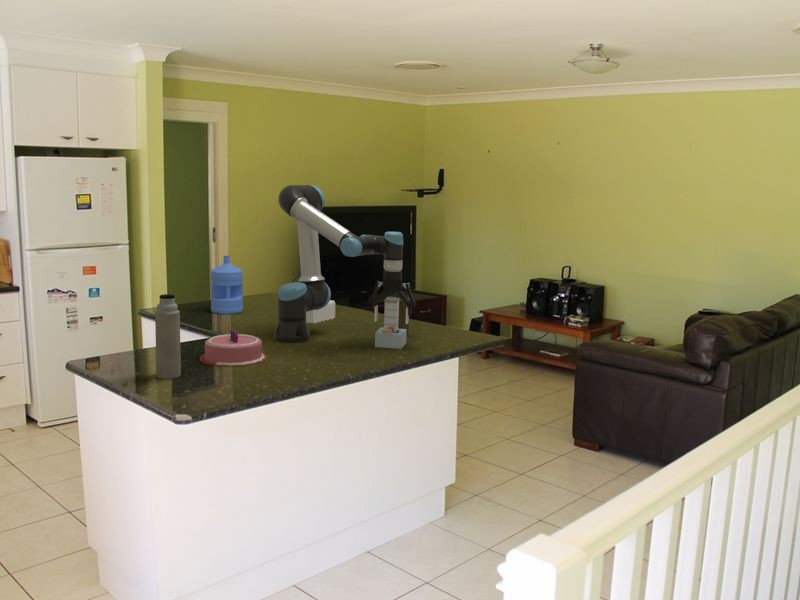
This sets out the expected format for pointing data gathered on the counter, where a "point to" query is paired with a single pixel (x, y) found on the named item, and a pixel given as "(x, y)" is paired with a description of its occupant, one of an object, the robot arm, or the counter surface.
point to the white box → (321, 313)
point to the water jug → (226, 288)
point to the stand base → (390, 338)
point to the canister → (402, 313)
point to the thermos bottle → (167, 338)
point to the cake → (233, 350)
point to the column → (391, 314)
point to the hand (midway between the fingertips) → (391, 322)
